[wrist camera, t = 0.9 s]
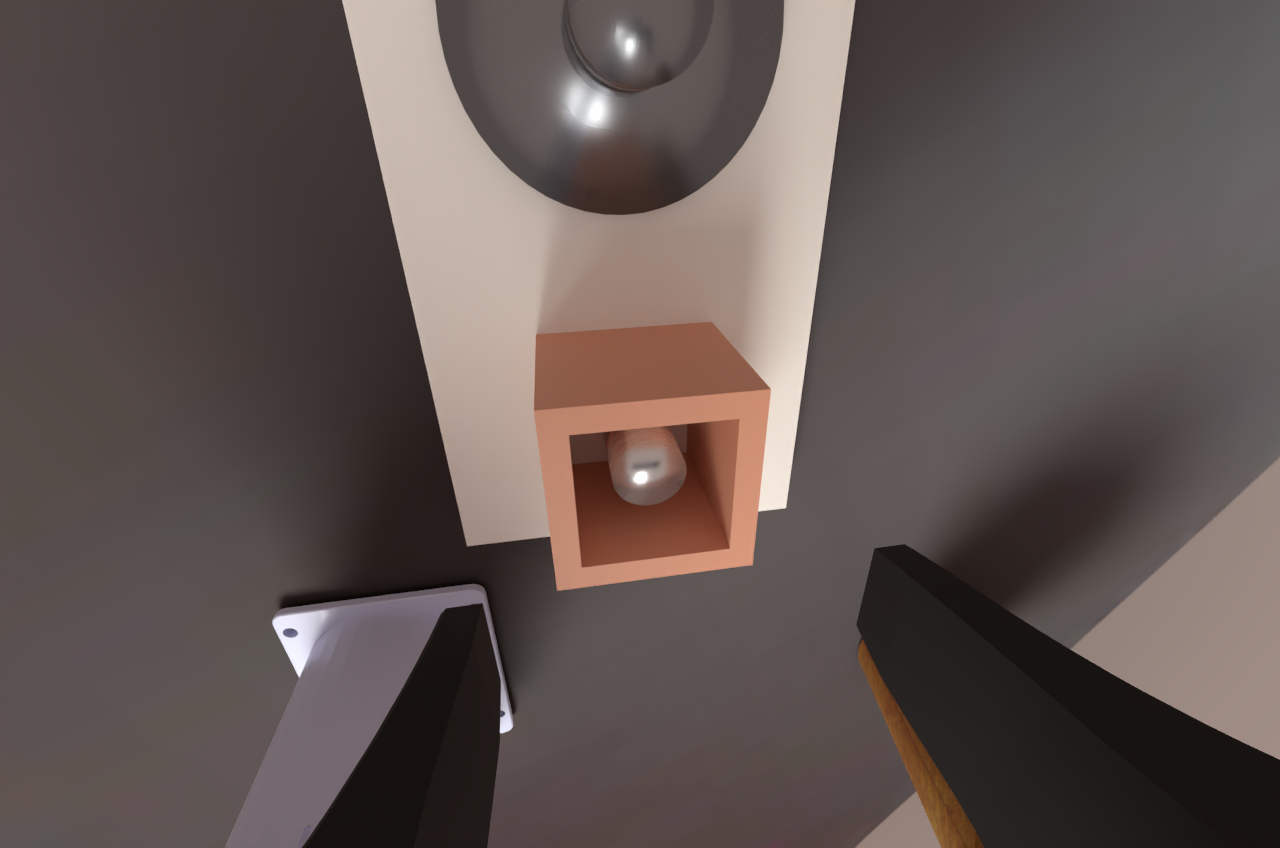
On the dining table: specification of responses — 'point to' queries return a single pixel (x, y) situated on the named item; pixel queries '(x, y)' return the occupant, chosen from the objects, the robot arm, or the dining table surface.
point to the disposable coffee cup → (921, 767)
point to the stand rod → (645, 464)
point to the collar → (642, 398)
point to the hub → (613, 91)
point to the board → (592, 254)
